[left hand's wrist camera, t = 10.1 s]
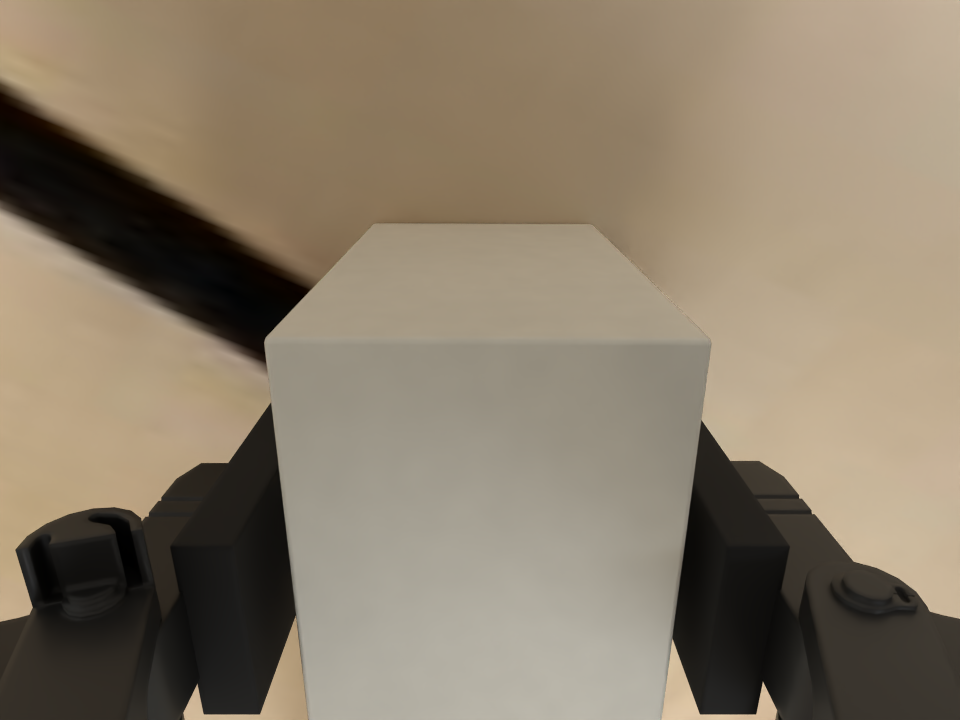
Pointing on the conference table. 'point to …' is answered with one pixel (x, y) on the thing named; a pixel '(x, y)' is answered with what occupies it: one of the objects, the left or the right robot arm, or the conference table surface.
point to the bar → (486, 475)
